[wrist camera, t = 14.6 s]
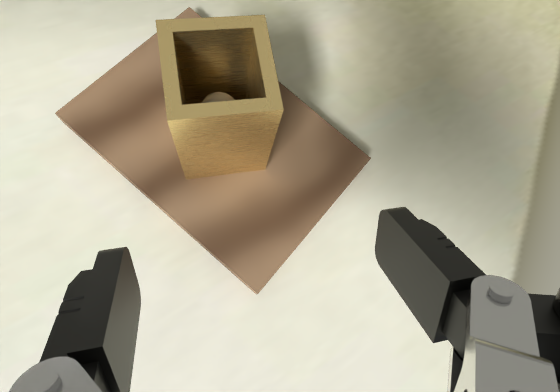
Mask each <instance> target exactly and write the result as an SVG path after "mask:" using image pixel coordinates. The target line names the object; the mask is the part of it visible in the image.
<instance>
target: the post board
mask: <svg viewBox="0 0 560 392" xmlns="http://www.w3.org/2000/svg"><path fill="white" fill-rule="evenodd" d="M188 18H202V17H201V16H199V15H198V14H197V13H196V12H195V11H193V10H192V9H191V8H190V7H189V8H187V9H186V10H185V11H184V12H182V13H181V14H180V15H179V16H177V17H176V18H175V19H188ZM278 84H279V89H280V94H281V99H282V104H283V109H284V110H283V113H282V117H281V120H280V123H279V126H278V130H277V133H276V136H275V139H274V143H273V146H272V149H271V152H270V156H269V159H268V162H267V165H266V169H265V170H259V171H251V172H243V173H235V174H227V175H218V176H210V177H202V178H194V179H185V175H184V172H183V169H182V166H181V163H180V160H179V156H178V153H177V150H176V147H175V144H174V141H173V137H172V134H171V131H170V128H169V125H168V122H167V115H166V106H165V97H164V88H163V80H162V71H161V62H160V53H159V45H158V36H157V33H156V34H155V35H153V36H152V37H151V38H149V39H148V40H147V41H146V42H144V43H143V44H142V45H141V46H139V47H138V48H137V49H136V50H134V51H133V52H132V53H130V54H129V55H128V56H127V57H125V58H124V59H123V60H122V61H120V62H119V63H118V64H117V65H115V66H114V67H113V68H111V69H110V70H109V71H108V72H106V73H105V74H104V75H103V76H101V77H100V78H99V79H98V80H96V81H95V82H94V83H93V84H91V85H90V86H89V87H87V88H86V89H85V90H84V91H82V92H81V93H80V94H79V95H77V96H76V97H75V98H74V99H72V100H71V101H70V102H68V103H67V104H66V105H65V106H63V107H62V108H61V109H60V110H58V111H57V112H56V113H55V114H56V115H57V116H58V117H59V118H60V119H61V120H62V121H63V123H65V124H66V125H67V126H68V127H69V128H70V129H71V130H72V131H74V132H75V133H76V134H77V135H78V136H79V137H80V138H81V139H83V140H84V141H85V142H86V143H87V144H88V145H89V146H90V147H92V148H93V149H94V150H95V151H96V152H97V153H98V154H99V155H100V156H102V157H103V158H104V159H105V160H106V161H107V162H108V163H109V164H111V165H112V166H113V167H114V168H115V169H116V170H117V171H118V172H120V173H121V174H122V175H123V176H124V177H125V178H126V179H127V180H129V181H130V182H131V183H132V184H133V185H134V186H135V187H136V188H138V189H139V190H140V191H141V192H142V193H143V194H144V195H145V196H147V197H148V198H149V199H150V200H151V201H152V202H153V203H154V204H155V205H157V206H158V207H159V208H160V209H161V210H162V211H163V212H164V213H166V214H167V215H168V216H169V217H170V218H171V219H172V220H173V221H175V222H176V223H177V224H178V225H179V226H180V227H181V228H182V229H184V230H185V231H186V232H187V233H188V234H189V235H190V236H191V237H193V238H194V239H195V240H196V241H197V242H198V243H199V244H200V245H202V246H203V247H204V248H205V249H206V250H207V251H208V252H209V253H210V254H212V255H213V256H214V257H215V258H216V259H217V260H218V261H219V262H221V263H222V264H223V265H224V266H225V267H226V268H227V269H228V270H230V271H231V272H232V273H233V274H234V275H235V276H236V277H237V278H239V279H240V280H241V281H242V282H243V283H244V284H245V285H246V286H248V287H249V288H250V289H251V290H252V291H253V292H254V293H255V294H258V293H259V292H260V291H261V289H262V288H263V287H264V286H265V285H266V283H267V282H268V281H269V280H270V279H271V277H272V276H273V275H274V274H275V273H276V271H277V270H278V269H279V268H280V267H281V265H282V264H283V263H284V262H285V261H286V259H287V258H288V257H289V256H290V255H291V254H292V252H293V251H294V250H295V249H296V248H297V246H298V245H299V244H300V243H301V242H302V240H303V239H304V238H305V237H306V236H307V234H308V233H309V232H310V231H311V230H312V228H313V227H314V226H315V225H316V224H317V222H318V221H319V220H320V219H321V218H322V216H323V215H324V214H325V213H326V212H327V210H328V209H329V208H330V207H331V206H332V204H333V203H334V202H335V201H336V200H337V198H338V197H339V196H340V195H341V194H342V192H343V191H344V190H345V189H346V188H347V186H348V185H349V184H350V183H351V182H352V180H353V179H354V178H355V177H356V176H357V174H358V173H359V172H360V171H361V170H362V168H363V167H364V166H365V165H366V164H367V162H368V161H369V160H370V159H371V158H370V157H369V156H368V155H366V154H365V153H364V152H363V151H362V150H360V149H359V148H358V147H357V146H356V145H354V144H353V143H352V142H351V141H350V140H348V139H347V138H346V137H345V136H344V135H342V134H341V133H340V132H339V131H338V130H336V129H335V128H334V127H333V126H332V125H330V124H329V123H328V122H327V121H326V120H324V119H323V118H322V117H321V116H320V115H318V114H317V113H316V112H315V111H314V110H312V109H311V108H310V107H309V106H308V105H306V104H305V103H304V102H303V101H302V100H300V99H299V98H298V97H297V96H296V95H294V94H293V93H292V92H291V91H290V90H288V89H287V88H286V87H285V86H284V85H282V84H281V83H280V82H279V81H278ZM232 100H234V98H233V97H231V96H230V95H228V94H226V93H223V92H214V93H211V94H209V95H208V96H207V97H205V99H204V100H203V101H202V103H209V102H220V101H232Z"/></svg>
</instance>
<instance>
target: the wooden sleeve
mask: <svg viewBox="0 0 560 392" xmlns="http://www.w3.org/2000/svg"><path fill="white" fill-rule="evenodd" d="M156 27H157V36H158V45H159V53H160V62H161V71H162V80H163V88H164V97H165V106H166V115H167V122H168V125H169V128H170V131H171V134H172V137H173V141H174V144H175V147H176V150H177V153H178V156H179V160H180V163H181V166H182V169H183V172H184V175H185V179H194V178H202V177H210V176H218V175H227V174H235V173H243V172H251V171H259V170H265V169H266V165H267V162H268V159H269V156H270V152H271V149H272V146H273V143H274V139H275V136H276V133H277V130H278V126H279V123H280V120H281V117H282V113H283V110H284V109H283V104H282V99H281V94H280V89H279V84H278V79H277V74H276V69H275V64H274V59H273V54H272V49H271V43H270V38H269V33H268V28H267V23H266V18H265V15H252V16H231V17H209V18H188V19H166V20H156ZM214 92H223V93H226V94H228V95H230V96H231V97H233V98H234V100H232V101H220V102H209V103H202V101H203V100H204V99H205V97H207V96H208V95H209V94H211V93H214Z"/></svg>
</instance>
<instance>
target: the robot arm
mask: <svg viewBox="0 0 560 392" xmlns="http://www.w3.org/2000/svg"><path fill="white" fill-rule="evenodd" d="M375 254H376V259H377V261H378V264H379V266H380V267H381V269H382V270H383V271H384V273H385V274H386V276H387V277H388V279H389V280H390V282H391V283H392V284H393V286H394V287H395V289H396V290H397V292H398V293H399V295H400V296H401V297H402V299H403V300H404V302H405V303H406V305H407V306H408V307H409V309H410V310H411V312H412V313H413V315H414V316H415V318H416V319H417V320H418V322H419V323H420V325H421V326H422V328H423V329H424V331H425V332H426V333H427V335H428V336H429V338H430V339H431V341H432V342H433V343H436V342H440V341H445V340H449V342H450V343H451V344H452V348H451V351H450V361H449V374H448V387H447V392H560V289H559V291H558V293H557V295H556V296H554V295H538V294H527V292H526V291H525V290H524V289H523V288H522V287H520V286H519V285H517V284H516V283H514V282H512V281H510V280H508V279H505V278H502V277H499V276H493V275H486V274H485V273H484V272H483V271H482V270H480V269H479V268H478V267H477V266H476V265H475V264H474V263H473V262H472V261H471V260H470V259H469V258H468V257H467V256H466V255H465V254H464V253H463V252H462V251H461V250H460V249H459V248H458V247H455V244H454V243H453V242H452V241H450V240H449V239H447V237H446V236H445V235H444V234H443V233H442V232H441V231H440V230H439V229H438V228H437V227H436V226H434V225H432V224H430V223H428V222H426V221H424V220H422V219H420V220H418V219H417V218H416V217H415V216H414V215H413V214H412V213H411V212H410V211H409V210H408V209H407V208H406V207H399V208H393V209H386V210H382V211H381V212H380V215H379V221H378V229H377V236H376V244H375ZM140 307H141V296H140V288H139V284H138V280H137V277H136V273H135V270H134V266H133V263H132V259H131V256H130V252H129V250H128V248H127V247H122V248H116V249H109V250H102V251H99V252H98V254H97V257H96V261H95V264H94V267H93V269H92V270H85V271H81V272H80V273H79V274H78V275H77V276H76V277H75V278H74V280H73V281H72V282H71V283H70V284H69V285H68V288H67V290H66V293H65V296H64V298H63V302H62V304H61V306H60V309H59V315H57V317H56V320H55V322H54V325H53V327H52V330H51V333H50V335H49V338H48V341H47V343H46V346H45V349H44V351H43V354H42V357H41V359H40V362H39V363H38V364H36V365H34V366H33V367H31V368H30V369H28V370H27V371H26V372H25V373H23V374H22V375H21V376H20V377H19V378H18V379H17V380H16V382H15V383H14V384H13V386H12V388H11V389H10V391H9V392H130V384H131V377H132V369H133V361H134V354H135V346H136V338H137V331H138V323H139V315H140Z"/></svg>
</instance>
